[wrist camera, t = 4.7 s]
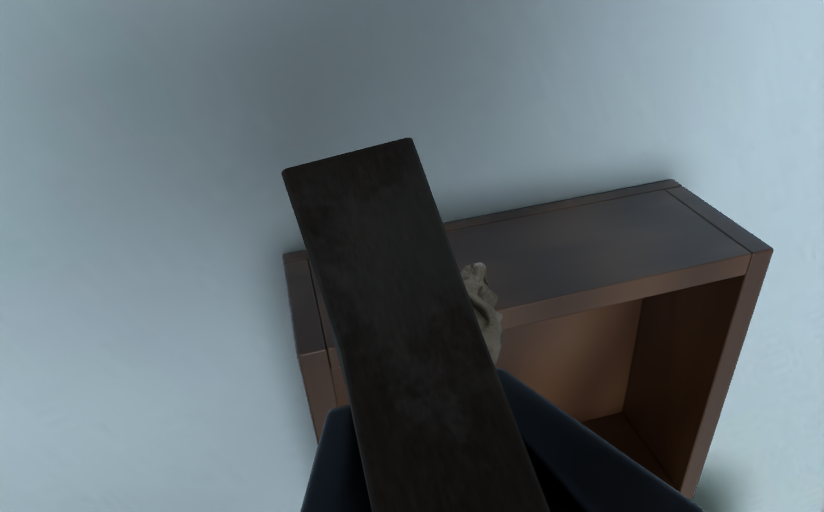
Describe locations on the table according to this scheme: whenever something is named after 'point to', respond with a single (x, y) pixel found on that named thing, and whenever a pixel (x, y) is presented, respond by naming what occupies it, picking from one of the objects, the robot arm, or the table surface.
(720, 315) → the caddy
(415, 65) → the table surface
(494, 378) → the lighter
